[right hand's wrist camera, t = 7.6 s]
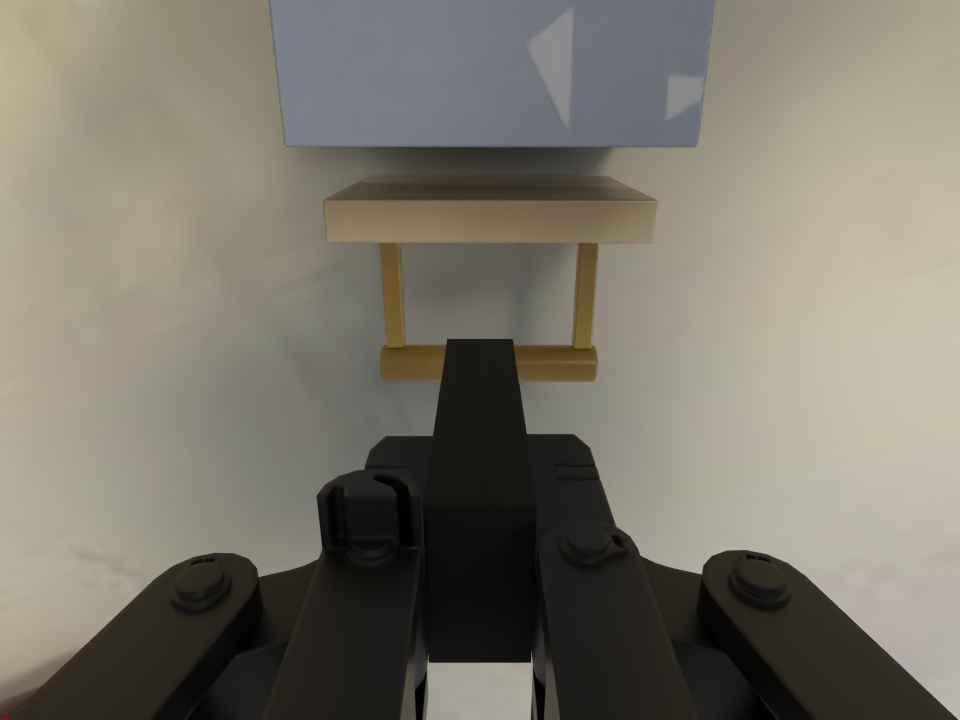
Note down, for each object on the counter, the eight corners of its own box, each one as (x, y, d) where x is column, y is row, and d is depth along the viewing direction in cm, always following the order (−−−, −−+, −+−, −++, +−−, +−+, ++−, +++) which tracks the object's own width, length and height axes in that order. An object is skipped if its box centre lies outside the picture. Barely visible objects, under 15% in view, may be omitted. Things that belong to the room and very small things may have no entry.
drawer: (597, 337, 26) (636, 415, 19) (379, 336, 26) (341, 414, 19) (650, -392, 18) (750, -702, 11) (334, -390, 18) (241, -696, 11)
